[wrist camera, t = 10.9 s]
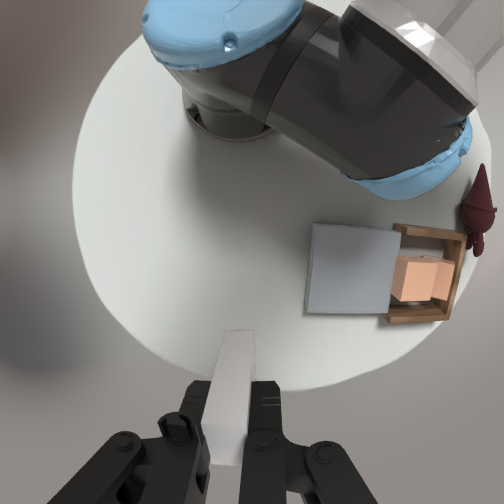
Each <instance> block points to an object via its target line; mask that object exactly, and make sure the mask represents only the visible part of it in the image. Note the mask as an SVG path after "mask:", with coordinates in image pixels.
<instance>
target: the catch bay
mask: <svg viewBox="0 0 504 504" xmlns="http://www.w3.org/2000/svg"><path fill="white" fill-rule="evenodd" d="M393 230H395V231H398V232H400V233H403V234H406V235H414V236H423V237H432V238H441V239H446V241H445V248H444V254H443V259H446V260H450V261H455V267H454V272H453V277H452V281H451V286H450V290H449V294H448V298H447V301H446V300H442V299H438V298H434V302H433V304H430V305H389V308H388V313H381V314H382V315H383V316H384V318H385V319H386V320H387V321H388V322H389V323H390V324H391V323H413V322H430V321H443V320H449V317H450V314H451V310H452V307H453V303H454V299H455V295H456V291H457V287H458V283H459V278H460V274H461V269H462V264H463V258H464V253H465V247H466V240H467V235H466V234H462V233H459V232H455V231H452V230H445V229H438V228H430V227H422V226H414V225H406V224H397V223H393Z"/></svg>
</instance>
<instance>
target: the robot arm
mask: <svg viewBox="0 0 504 504" xmlns="http://www.w3.org/2000/svg"><path fill="white" fill-rule="evenodd" d="M142 33H143V36H144V39H145V41H146V42H147V44H148V46H149V48H150V50H151V53H152V54H153V56H154V58H156V60H157V61H158V62H160V63H162V64H163V66H164V67H165V68H166V69H167V70H168V71H169V72H170V73H171V75H172V76H173V77H174V78H175V79H176V80H177V82H178V83H179V84H180V85H181V86H182V87H183V88H182V97H183V103H184V106H185V109H186V111H187V113H188V115H189V116H190V118H191V119H192V121H193V122H194V123H195V124H196V125H197V126H198V127H199V128H200V129H202V130H203V131H204V132H206V133H207V134H209V135H211V136H213V137H215V138H218V139H221V140H225V141H231V142H244V141H250V140H254V139H258V138H261V137H263V136H265V135H267V134H269V133H270V132H272V131H273V130H277V131H279V132H280V133H282V134H284V135H285V136H287V137H289V138H290V139H292V140H294V141H295V142H297V143H299V144H300V145H302V146H304V147H305V148H307V149H308V150H310V151H311V152H313V153H315V154H316V155H318V156H319V157H321V158H322V159H324V160H325V161H327V162H328V163H330V164H331V165H333V166H334V167H336V168H337V169H339V170H340V171H341V174H342V175H343V176H344V177H345V178H347V179H348V180H350V181H353V182H355V183H357V184H360V185H361V186H363V187H364V188H366V189H367V190H369V191H370V192H372V193H373V194H375V195H376V196H378V197H380V198H384V199H387V200H392V201H399V200H408V199H412V198H415V197H418V196H420V195H422V194H425V193H427V192H429V191H430V190H432V189H434V188H435V187H437V186H438V185H440V184H441V183H442V182H443V181H445V180H446V179H447V178H448V177H449V176H450V175H451V174H452V173H453V172H454V171H455V170H456V169H457V168H458V166H459V165H460V164H461V160H460V157H461V156H462V155H465V154H467V152H468V150H469V148H470V145H471V142H472V126H471V123H470V120H469V117H468V114H469V113H470V112H471V111H472V110H473V109H474V108H475V107H476V106H477V105H478V104H479V100H478V88H477V76H478V73H479V72H480V70H481V69H482V68H483V67H484V66H485V65H486V64H487V63H488V62H489V61H490V59H491V58H492V57H493V56H494V55H495V54H496V53H497V52H498V50H499V49H500V48H501V47H502V46H503V45H504V0H355V1H352V2H351V3H350V5H349V6H348V8H347V9H346V11H345V12H344V14H343V15H342V17H339V16H337V15H335V14H333V13H331V12H329V11H327V10H325V9H323V8H321V7H319V6H317V5H315V4H313V3H311V2H309V1H306V0H149V1H148V3H147V5H146V7H145V10H144V13H143V16H142ZM255 375H256V367H255V344H254V330H225V332H224V336H223V340H222V344H221V348H220V351H219V355H218V359H217V363H216V367H215V370H214V374H213V378H212V381H199V380H195V381H193V382H192V383H191V384H190V385H189V386H188V388H187V390H186V393H185V397H184V398H183V401H182V404H181V407H180V410H179V412H172V413H168V414H166V415H164V416H162V417H161V418H160V419H159V421H158V425H159V428H160V430H161V432H162V435H163V436H162V437H158V438H150V439H140V437H139V436H138V435H137V434H135V433H133V432H129V431H121V432H118V433H116V434H114V435H113V436H111V437H110V439H109V440H108V441H107V442H106V443H105V444H104V445H103V446H102V447H101V448H100V449H99V450H98V451H97V452H96V453H95V454H94V455H93V457H92V458H91V459H90V460H89V461H88V462H87V463H86V464H85V465H84V466H83V467H82V468H81V469H80V470H79V471H78V472H77V473H76V474H75V475H74V477H73V478H71V479H70V481H69V482H68V483H67V484H66V485H65V486H64V487H63V488H62V489H61V490H60V491H59V492H58V493H57V494H56V495H55V496H54V497H53V498H52V499H51V500H50V501H49V502H48V503H47V504H205V501H206V495H207V489H208V484H209V478H210V471H209V462H210V460H211V463H212V464H217V465H233V466H242V473H241V484H240V494H239V504H286V491H291V492H296V493H300V495H301V497H302V499H303V502H304V504H378V503H377V501H376V500H375V498H374V497H373V495H372V494H371V492H370V490H369V489H368V487H367V485H366V484H365V482H364V481H363V479H362V477H361V476H360V474H359V473H358V471H357V469H356V468H355V466H354V465H353V463H352V461H351V460H350V458H349V457H348V455H347V453H346V452H345V450H344V449H343V448H342V447H341V446H340V445H339V444H337V443H335V442H331V441H322V442H317V443H315V444H313V445H311V446H310V447H307V446H301V445H297V444H294V443H292V442H290V441H289V440H288V439H286V438H285V436H284V434H283V431H282V418H281V417H282V416H281V399H280V388H279V386H278V385H277V384H276V382H275V381H255Z"/></svg>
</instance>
